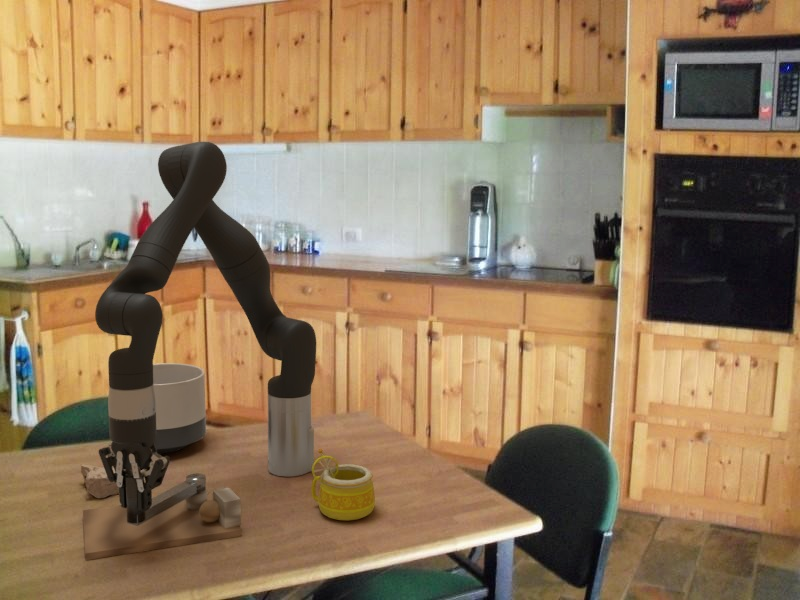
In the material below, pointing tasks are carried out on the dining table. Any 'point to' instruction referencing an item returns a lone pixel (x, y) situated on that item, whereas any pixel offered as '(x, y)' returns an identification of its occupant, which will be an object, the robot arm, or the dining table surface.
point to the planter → (178, 405)
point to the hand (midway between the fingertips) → (135, 507)
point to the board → (163, 525)
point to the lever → (160, 497)
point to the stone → (98, 481)
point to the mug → (344, 490)
